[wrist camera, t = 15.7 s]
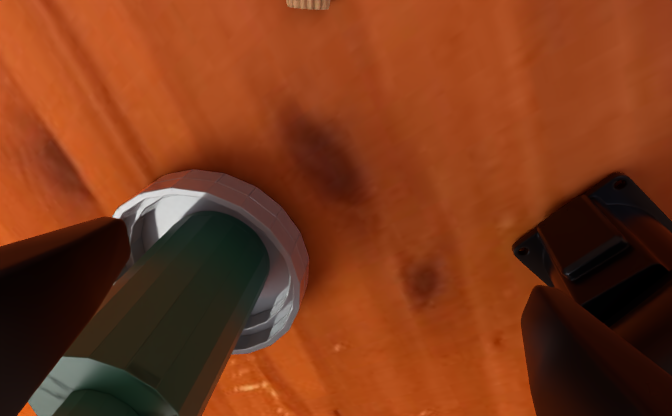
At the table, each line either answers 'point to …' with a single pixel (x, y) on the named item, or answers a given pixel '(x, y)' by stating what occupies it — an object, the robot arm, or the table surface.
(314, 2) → the trowel
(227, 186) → the dish
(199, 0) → the table surface
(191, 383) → the ink bottle
